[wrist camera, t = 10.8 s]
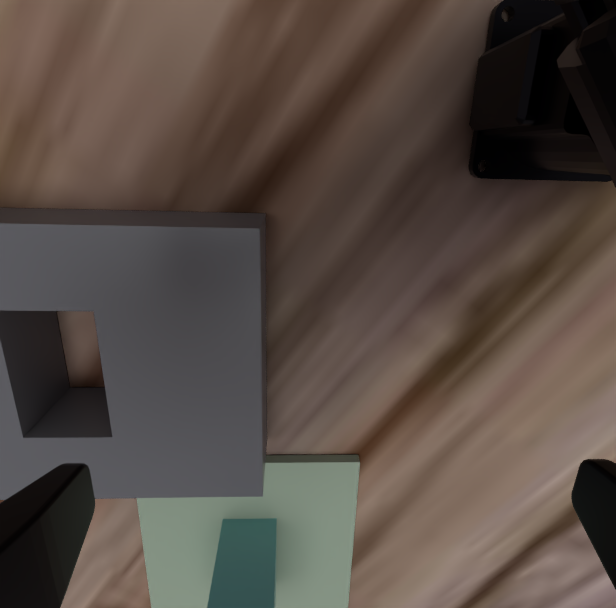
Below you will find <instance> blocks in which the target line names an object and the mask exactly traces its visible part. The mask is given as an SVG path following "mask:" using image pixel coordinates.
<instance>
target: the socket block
mask: <svg viewBox="0 0 616 608" xmlns="http://www.w3.org/2000/svg"><path fill="white" fill-rule="evenodd" d="M56 311H94V317H95V324H96V330H97V337H98V344H99V350H100V357H101V364H102V371H103V377H104V384H105V388H70V386H69V380H68V375H67V369H66V364H65V358H64V353H63V347H62V342H61V336H60V331H59V325H58V320H57V314H56ZM266 446H267V366H266V213H227V212H181V211H135V210H88V209H42V208H0V500H6V499H8V498H9V497H11V496H12V495H14V494H15V493H17V492H18V491H20V490H21V489H23V488H25V487H26V486H28V485H29V484H31V483H32V482H34V481H35V480H37V479H39V478H40V477H42V476H43V475H45V474H46V473H48V472H49V471H51V470H53V469H54V468H56V467H57V466H59V465H61V464H65V463H84V464H86V465H88V467H89V469H90V474H91V479H92V485H93V491H94V497H95V499H104V498H187V497H263V487H264V473H265V460H266Z"/></svg>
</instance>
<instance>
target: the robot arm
mask: <svg viewBox="0 0 616 608" xmlns="http://www.w3.org/2000/svg"><path fill="white" fill-rule="evenodd" d="M504 9H505V10H507V11H508V12H509V16H510V18H509V20H508V22H505V21H503V19H502V16H501V13H502V11H503V10H504ZM470 126H471V128H472V129H473V130H474V133H473V140H472V147H471V154H470V161H469V171H470V173H471V175H473V176H474V177H477V178H487V179H525V180H563V181H601V182H607V181H611V180H612V181H613V183H614V185H615V187H616V0H554V1H551V0H504V1H502V2H501V3H499V4H498V5H497V6H495V8H494V9H493V11H492V13H491V17H490V23H489V30H488V37H487V44H486V51H485V53H484V54H483V55H482V56H481V57H480V58H479V60H478V67H477V74H476V81H475V88H474V95H473V102H472V109H471V116H470ZM482 160H484V161H485V162H486V167H485V169H484V170H483V171H482V172H480V170H479V169H478V165H479V163H480V162H481V161H482ZM572 504H573V507H574V509H575V511H576V513H577V515H578V517H579V519H580V521H581V523H582V525H583V527H584V529H585V531H586V533H587V535H588V537H589V539H590V541H591V543H592V545H593V547H594V549H595V550H596V552H597V554H598V556H599V558H600V560H601V562H602V564H603V566H604V568H605V570H606V572H607V574H608V576H609V578H610V580H611V582H612V583H613V585H614V587H615V589H616V463H614V462H612V461H610V460H606V459H587V460H584V461H583V462H582V463H581V464H580V466H579V470H578V473H577V477H576V480H575V483H574V487H573V490H572ZM94 509H95V497H94V491H93V485H92V479H91V474H90V469H89V467H88V465H86V464H84V463H65V464H61V465H59V466H57V467H56V468H54V469H53V470H51V471H49V472H48V473H46V474H45V475H43V476H42V477H40V478H39V479H37V480H35V481H34V482H32V483H31V484H29V485H28V486H26V487H25V488H23V489H21V490H20V491H18V492H17V493H15V494H14V495H12V496H11V497H9V498H8V499H6V500H4V501H3V502H1V503H0V608H60V607H61V604H62V601H63V599H64V596H65V593H66V591H67V588H68V585H69V582H70V579H71V577H72V574H73V571H74V568H75V565H76V562H77V559H78V557H79V554H80V551H81V548H82V545H83V542H84V539H85V537H86V534H87V531H88V528H89V525H90V522H91V519H92V517H93V513H94Z"/></svg>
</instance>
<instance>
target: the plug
mask: <svg viewBox="0 0 616 608" xmlns="http://www.w3.org/2000/svg"><path fill="white" fill-rule="evenodd" d="M276 541H277V518H264V519H223V521H222V526H221V532H220V537H219V543H218V549H217V554H216V560H215V566H214V571H213V577H212V583H211V588H210V594H209V600H208V605H207V608H275V606H276Z"/></svg>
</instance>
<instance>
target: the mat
mask: <svg viewBox="0 0 616 608" xmlns="http://www.w3.org/2000/svg"><path fill="white" fill-rule="evenodd" d="M359 468H360V460H359V456H358V455H266V460H265V473H264V487H263V497H187V498H137V504H138V512H139V519H140V527H141V534H142V541H143V549H144V556H145V564H146V571H147V579H148V586H149V593H150V601H151V608H207V605H208V600H209V594H210V588H211V583H212V577H213V571H214V566H215V560H216V554H217V549H218V543H219V537H220V532H221V526H222V521H223V519H264V518H277V541H276V606H275V608H348V601H349V588H350V576H351V564H352V552H353V540H354V528H355V516H356V504H357V492H358V480H359Z"/></svg>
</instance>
